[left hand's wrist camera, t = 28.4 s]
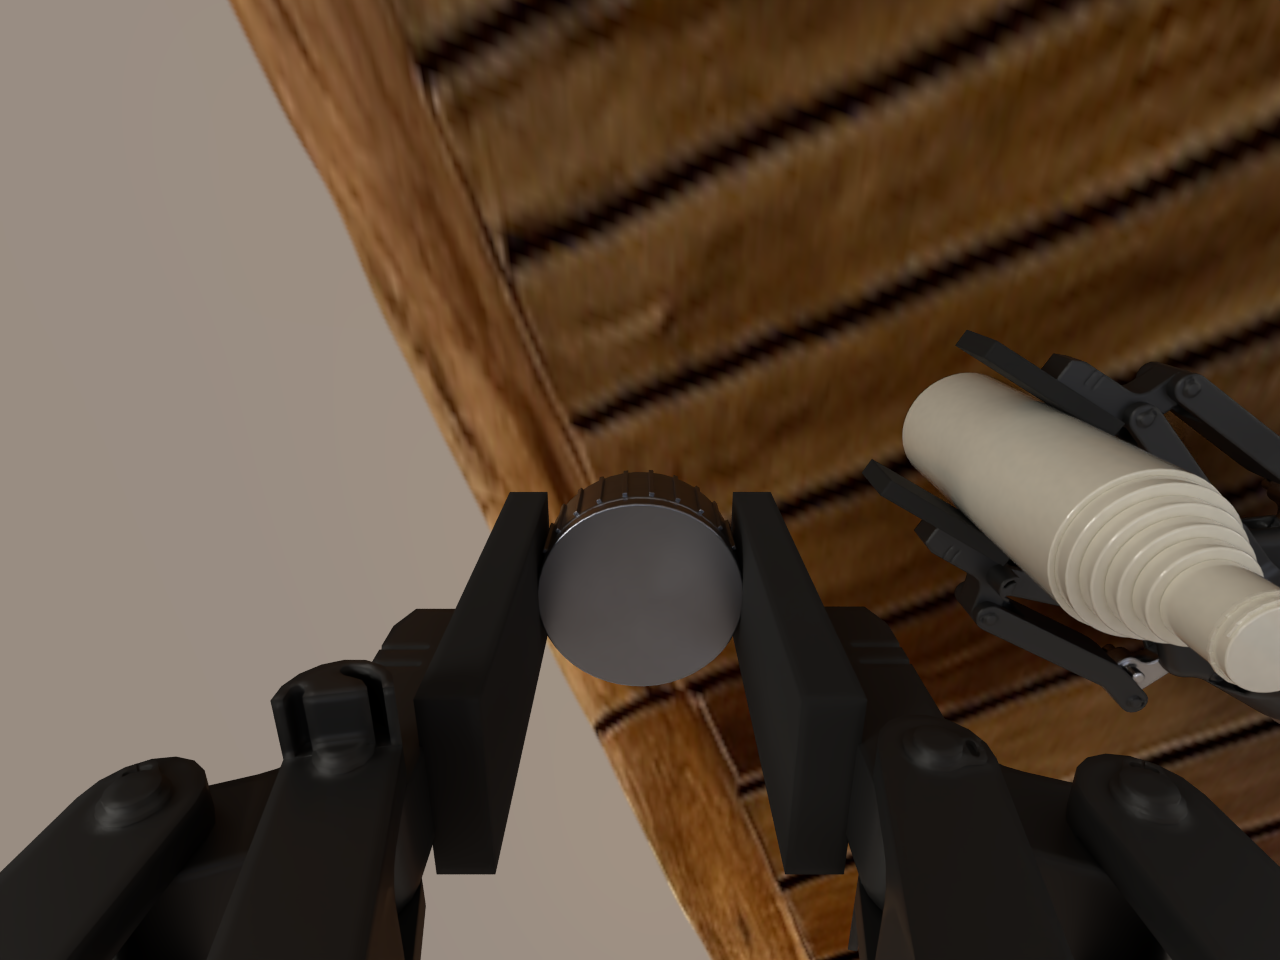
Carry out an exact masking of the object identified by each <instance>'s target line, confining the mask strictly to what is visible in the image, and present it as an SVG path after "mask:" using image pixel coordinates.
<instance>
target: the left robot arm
mask: <svg viewBox="0 0 1280 960" xmlns="http://www.w3.org/2000/svg"><path fill="white" fill-rule="evenodd" d="M548 531H549V515H548V494H547V492H510V493H509V495H508V497H507V500H506V502H505V504H504V506H503V508H502V510H501V512H500V515H499V517H498V519H497V521H496V523H495V525H494V527H493V530H492V532H491V534H490V536H489V538H488V540H487V543H486V545H485V547H484V549H483V551H482V553H481V555H480V557H479V560H478V562H477V564H476V566H475V568H474V570H473V572H472V575H471V577H470V579H469V581H468V583H467V585H466V587H465V590H464V592H463V594H462V596H461V598H460V600H459V602H458V605H457V607H456V609H416V610H414V611H413V612H412V613H410V614H409V615H408V616H406V617H405V618H404V619H402V620H401V621H400V622H398V623H397V624H396V625H394V626H393V628H392V629H391V631H390V633H389V635H388V636H387V638H386V640H385V641H384V643H383V645H382V649H381V650H379V651H378V653H377V655H376V656H375V658H374V660H373V661H372V662H370V661H367V660H342V661H337V662H332V663H328V664H322V665H320V666H317V667H315V668H312V669H310V670H307V671H305V672H303V673H300V674H298V675H297V676H296V677H294V678H293V679H291V680H290V681H288V682H287V683H286V684H284V685H283V686H281V688H280V689H279V690H278V692H277V693H276V694H275V695H274V697H273V698H272V699H271V705H272V710H273V714H274V719H275V723H276V728H277V732H278V737H279V742H280V746H281V751H282V755H283V762H282V765H281V767H280V768H278V769H275V770H271V771H268V772H264V773H261V774H258V775H253V776H249V777H245V778H240V779H236V780H231V781H227V782H223V783H218V784H214V785H208V781H207V778H206V774H205V770H204V769H203V768H201V766H199V765H198V764H197V763H196V762H195V761H194V760H189V759H185V758H180V757H167V758H157V759H150V760H147V761H144V762H141V763H137V764H134V765H131V766H128V767H125V768H123V769H121V770H119V771H117V772H115V773H113V774H111V775H109V776H107V777H105V778H104V779H101V780H100V781H98V782H97V783H95V784H94V785H93V786H92V787H90V788H89V789H88V790H86V791H85V792H84V793H83V794H81V795H80V796H79V797H77V798H76V799H75V800H74V801H73V802H72V803H71V804H70V805H69V806H68V807H67V808H66V809H65V810H64V811H63V812H62V813H61V814H60V815H59V816H58V817H57V818H56V819H55V820H54V821H53V822H52V823H51V824H50V825H49V826H47V827H46V828H45V829H44V830H43V831H42V832H41V833H40V834H39V835H38V836H37V837H36V838H35V839H34V840H33V841H32V842H31V843H30V844H29V845H28V846H27V847H26V848H25V849H24V850H23V851H22V852H21V853H20V854H19V855H18V856H17V857H16V858H15V859H14V860H12V861H11V862H10V863H9V864H8V865H7V866H6V867H5V868H4V869H3V870H2V871H1V872H0V960H420V959H421V949H422V938H423V928H424V918H425V908H426V905H425V897H424V890H423V883H422V875H423V872H424V869H425V866H426V863H427V860H428V857H429V854H430V851H431V848H432V845H433V850H434V858H435V865H436V873H437V874H495V873H496V869H497V864H498V860H499V855H500V850H501V846H502V841H503V837H504V832H505V828H506V823H507V818H508V814H509V809H510V805H511V800H512V796H513V791H514V786H515V782H516V777H517V773H518V768H519V764H520V759H521V754H522V750H523V745H524V741H525V736H526V732H527V727H528V722H529V718H530V713H531V709H532V704H533V700H534V695H535V690H536V686H537V681H538V677H539V672H540V668H541V663H542V658H543V654H544V649H545V645H546V640H547V636H548V635H547V633H546V631H545V629H544V627H543V625H542V622H541V619H540V615H539V599H538V577H539V573H540V570H541V566H542V562H543V559H544V555H545V553H543V549H544V545H545V542H546V538H547V535H548ZM731 531H732V534H733V538H734V541H735V544H736V548H737V549H736V550H735V552H736V555H737V559H738V563H739V566H740V570H741V574H742V579H743V589H742V607H741V619H740V621H739V624H738V626H737V629H736V631H735V633H734V634H733V638H734V643H735V647H736V652H737V656H738V661H739V666H740V670H741V675H742V679H743V684H744V688H745V693H746V698H747V702H748V707H749V711H750V716H751V720H752V725H753V730H754V734H755V739H756V743H757V748H758V752H759V757H760V762H761V766H762V771H763V775H764V780H765V784H766V789H767V794H768V798H769V803H770V807H771V812H772V816H773V821H774V826H775V830H776V835H777V839H778V844H779V848H780V853H781V858H782V862H783V867H784V871H785V874H844V869H845V861H846V854H847V846H848V843H849V846H850V849H851V852H852V855H853V858H854V861H855V864H856V867H857V870H858V873H859V876H858V883H857V890H856V897H855V904H854V911H853V917H852V924H851V931H850V938H849V946H848V950H853V951H857V949H858V947H859V957H860V960H1280V867H1279V866H1278V865H1277V864H1276V863H1275V862H1274V861H1273V860H1272V859H1271V858H1270V857H1269V856H1268V855H1267V854H1266V853H1265V852H1264V851H1263V850H1262V849H1261V848H1259V847H1258V846H1257V845H1256V844H1255V843H1254V842H1253V841H1252V840H1251V839H1250V838H1249V837H1248V836H1247V835H1246V834H1245V833H1244V832H1243V831H1242V830H1241V829H1240V828H1239V827H1238V826H1237V825H1236V824H1235V823H1234V822H1233V821H1232V820H1230V819H1229V818H1228V817H1227V816H1226V815H1225V814H1224V813H1223V812H1222V811H1221V810H1220V809H1219V808H1218V807H1217V806H1216V805H1215V804H1214V803H1213V802H1212V801H1211V800H1210V799H1209V798H1208V797H1207V796H1206V795H1204V794H1203V793H1202V792H1201V791H1199V790H1198V789H1197V788H1195V787H1194V786H1193V785H1191V784H1190V783H1189V782H1188V781H1186V780H1185V779H1184V778H1182V777H1180V776H1178V775H1176V774H1174V773H1172V772H1170V771H1168V770H1166V769H1165V768H1163V767H1161V766H1159V765H1157V764H1154V763H1150V762H1147V761H1144V760H1141V759H1137V758H1134V757H1131V756H1124V755H1114V754H1102V755H1097V756H1092V757H1087V758H1086V759H1085V760H1084V761H1083V762H1082V763H1081V764H1080V765H1079V766H1078V767H1077V769H1076V772H1075V776H1074V780H1073V783H1071V782H1067V781H1062V780H1058V779H1053V778H1049V777H1045V776H1040V775H1036V774H1031V773H1027V772H1023V771H1019V770H1016V769H1013V768H1009V767H1006V766H1003V765H1001V764H999V763H998V761H997V759H996V757H995V756H994V754H993V753H992V751H991V750H990V748H989V747H988V745H987V744H986V743H985V742H984V741H983V740H981V739H980V738H979V737H978V736H976V735H975V734H974V733H973V732H971V731H970V730H969V729H966V728H964V727H962V726H960V725H958V724H956V723H954V722H952V721H949V720H946V719H944V717H943V716H942V714H941V712H940V711H939V709H938V707H937V706H936V704H935V702H934V701H933V699H932V697H931V696H930V694H929V692H928V691H927V689H926V687H925V686H924V684H923V682H922V681H921V679H920V677H919V676H918V674H917V672H916V671H915V669H914V667H913V666H912V664H909V659H908V657H907V656H906V654H905V652H904V651H903V649H902V647H899V642H898V641H897V639H896V637H895V636H894V634H893V632H892V631H891V629H890V627H889V626H888V624H887V623H886V622H884V621H883V620H882V619H880V618H879V617H878V616H876V615H875V614H874V613H872V612H871V611H870V610H868V609H867V608H865V607H824V606H823V603H822V601H821V599H820V597H819V595H818V593H817V591H816V588H815V586H814V584H813V582H812V580H811V578H810V576H809V574H808V571H807V569H806V567H805V565H804V563H803V561H802V559H801V556H800V554H799V552H798V550H797V548H796V546H795V544H794V541H793V539H792V537H791V535H790V533H789V531H788V529H787V526H786V524H785V522H784V520H783V518H782V516H781V514H780V511H779V509H778V507H777V505H776V503H775V501H774V499H773V496H772V494H771V492H733V503H732V524H731Z"/></svg>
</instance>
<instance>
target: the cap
mask: <svg viewBox="0 0 1280 960" xmlns="http://www.w3.org/2000/svg"><path fill="white" fill-rule="evenodd" d="M736 549H737V548H736V544H735V541H734V538H733V534H732V531H731V527H730V524H729V521H728V520H726V521H725V520H724V518H723V517H722V515H721V513H720V512H719V510H718V506H717V503H716V502H715V501H713V502H711V501H710V500H709V499H708V498H707V497H706V496H705V495H704V494H702V493H701V492H700V489H699V487H697V486H695V487H692V486H691V485H689V484H687V483H685V482H683V481H681V480H678V477H677V476H675V475H673V477H670V476H666V475H662V474H656V473H653V470H649V472H633V473H628V471H624V474H619V475H615V476H611V477H608V478H605V479H604V477H600V479H599V481H598V482H596V483H594V484H592V485H590V486H588V487H587V488H585V489H584V490H583V489H582V488H580V489H579V490H578V494H577V495H576V496H575V497H574V498H573V499H572V500H570V501H569V503H568V504H567V505H565V504H563V505H562V507H561V511H560V514H559V516H558V518H557V519H556V521H555V523H554V524H553V523H551V525H550V528H549V531H548V535H547V538H546V542H545V545H544V549H543V553H545V555H544V559H543V562H542V566H541V570H540V573H539V577H538V599H539V615H540V619H541V622H542V625H543V627H544V629H545V631H546V633H547V635H548V637H549V639H550V640H551V641H552V643H553V644H554V646H555V647H556V648H557V649H558V651H559V652H560V653H561V654H562V655H563V656H564V657H565V658H566V659H567V660H569V661H570V662H571V663H572V664H573V665H575V666H576V667H578V668H579V669H581V670H582V671H584V672H586V673H588V674H590V675H592V676H594V677H597V678H599V679H602V680H605V681H608V682H612V683H616V684H622V685H630V686H650V685H659V684H664V683H669V682H672V681H676V680H679V679H682V678H684V677H686V676H688V675H691V674H693V673H695V672H696V671H698V670H700V669H701V668H703V667H705V666H706V665H707V664H708V663H710V662H711V661H712V660H713V659H715V658H716V657H717V656H718V654H719V653H720V652H721V651H722V650H723V649H724V648H725V647H726V645H727V644H728V643H729V641H730V640H731V638H732V636H733V634H734V633H735V631H736V629H737V626H738V624H739V621H740V619H741V607H742V589H743V579H742V574H741V570H740V566H739V563H738V559H737V555H736V552H735V550H736Z"/></svg>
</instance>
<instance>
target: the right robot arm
mask: <svg viewBox="0 0 1280 960" xmlns="http://www.w3.org/2000/svg"><path fill="white" fill-rule="evenodd" d="M955 346H957V347H959V348H960V349H962V350H963V351H965V352H966V353H968V354H970V355H971V356H973V357H974V358H976V359H977V360H979V361H981V362H982V363H984V364H985V365H987V366H988V367H990V368H992V369H993V370H995V371H996V372H998V373H999V374H1001V375H1003V376H1004V377H1006V378H1007V379H1009V380H1010V381H1012V382H1014V383H1015V384H1017V385H1018V386H1020V387H1021V388H1023V389H1025V390H1026V391H1028V392H1029V393H1031V394H1033V395H1034V396H1036V397H1037V398H1039V399H1040V400H1042V401H1044V402H1045V403H1047V404H1049V405H1051V406H1053V407H1055V408H1057V409H1059V410H1061V411H1063V412H1065V413H1067V414H1069V415H1072V416H1074V417H1076V418H1078V419H1080V420H1082V421H1084V422H1086V423H1088V424H1090V425H1092V426H1095V427H1097V428H1099V429H1101V430H1103V431H1105V432H1107V433H1109V434H1111V435H1113V436H1115V437H1117V438H1120V439H1122V440H1124V441H1126V442H1128V443H1130V444H1132V445H1134V446H1136V447H1138V448H1140V449H1143V450H1145V451H1147V452H1149V453H1151V454H1153V455H1155V456H1157V457H1159V458H1161V459H1163V460H1166V461H1168V462H1170V463H1172V464H1174V465H1176V466H1178V467H1180V468H1182V469H1184V470H1186V471H1188V472H1191V473H1193V474H1195V475H1197V476H1199V477H1201V478H1203V479H1205V480H1206V481H1207V482H1209V483H1210V481H1209V480H1208V479H1207V477H1206V476H1205V474H1204V473H1203V471H1202V470H1201V469H1200V467H1199V466H1198V464H1197V463H1196V461H1195V460H1194V458H1193V457H1192V456H1191V454H1190V453H1189V451H1188V450H1187V448H1186V447H1185V446H1184V444H1183V443H1182V441H1181V440H1180V438H1179V437H1178V436H1177V434H1176V433H1175V431H1174V430H1173V428H1172V427H1171V425H1170V424H1169V423H1168V421H1167V420H1166V418H1165V417H1164V415H1163V414H1164V413H1166V412H1167V411H1169V410H1170V411H1171V412H1172V413H1174V414H1175V415H1176V416H1177V417H1179V418H1180V419H1181V420H1183V421H1184V422H1185V423H1187V424H1188V425H1189V426H1190V427H1192V428H1193V429H1194V430H1196V431H1197V432H1198V433H1200V434H1201V435H1202V436H1203V437H1205V438H1206V439H1207V440H1209V441H1210V442H1211V443H1213V444H1214V445H1215V446H1216V447H1218V448H1219V449H1220V450H1222V451H1223V452H1224V453H1226V454H1227V455H1228V456H1229V457H1231V458H1232V459H1233V460H1235V461H1236V462H1237V463H1239V464H1240V465H1241V466H1243V467H1244V468H1246V469H1247V470H1249V471H1251V472H1253V473H1255V474H1257V475H1260V476H1262V477H1264V479H1263V480H1262V483H1261V486H1262V487H1263V488H1264V489H1266V490H1267V495H1268V497H1269V498H1270V499H1271V500H1273V501H1275V502H1276V503H1277V505H1278V513H1277V515H1269V516H1258V517H1247V518H1240V519H1241V522H1242V524H1243V529H1244V530H1245V532H1246V534H1247V537H1248V539H1249V543H1250V545H1251V547H1252V548H1253V550H1254V553H1255V555H1256V559H1257V563H1258V564H1259V566H1260V567H1261V569H1262V572H1263V575H1264V578H1266V579H1267V580H1269V581H1271V582H1272V583H1274V584H1276V585H1278V586H1279V587H1280V437H1279V436H1278V435H1277V434H1275V433H1274V432H1273V431H1272V430H1270V429H1269V428H1268V427H1267V426H1265V425H1264V424H1263V423H1262V422H1260V421H1259V420H1258V419H1257V418H1255V417H1254V416H1253V415H1251V414H1250V413H1249V412H1248V411H1246V410H1245V409H1244V408H1243V407H1241V406H1240V405H1239V404H1238V403H1236V402H1235V401H1234V400H1233V399H1231V398H1230V397H1229V396H1228V395H1226V394H1225V393H1224V392H1222V391H1221V390H1220V389H1219V388H1217V387H1216V386H1215V385H1214V384H1212V383H1211V382H1210V381H1209V380H1207V379H1206V378H1205V377H1204V376H1202V375H1199V374H1196V373H1193V372H1190V371H1186V370H1183V369H1179V368H1176V367H1173V366H1169V365H1166V364H1162V363H1159V362H1149V363H1147V364H1145V365H1143V366H1142V367H1141V368H1140V369H1139V371H1138V372H1137V375H1136V378H1135V379H1134V380H1132V381H1131V382H1129V383H1127V384H1125V385H1120V384H1118V383H1117V382H1115V381H1114V380H1112V379H1111V378H1109V377H1108V376H1106V375H1104V374H1103V373H1102V372H1100V371H1098V370H1097V369H1095V368H1094V367H1092V366H1091V365H1089V364H1088V363H1086V362H1084V361H1081V360H1078V359H1075V358H1072V357H1069V356H1066V355H1060V354H1053V355H1052V356H1051V357H1050V359H1049V360H1048V361H1047V362H1046V364H1045V365H1044V366H1043V367H1042V369H1040V368H1038V367H1037V366H1035V365H1034V364H1032V363H1030V362H1029V361H1027V360H1026V359H1024V358H1023V357H1021V356H1020V355H1018V354H1017V353H1015V352H1013V351H1012V350H1010V349H1009V348H1007V347H1006V346H1004V345H1003V344H1001V343H1000V342H998V341H996V340H993V339H991V338H988V337H985V336H982V335H980V334H977V333H974V332H972V331H969V330H966V332H965V333H964V334H963V336H962V337H961V338H960V340H959V341H958V342H957V344H956V345H955ZM862 473H863V475H864V476H865V477H866V478H867V480H868V481H869V482H870V483H871V484H872V486H873V487H874V488H875V489H876V490H877V492H878V493H879V494H880V495H881V496H883V497H884V498H886V499H888V500H890V501H891V502H893V503H895V504H897V505H898V506H900V507H902V508H903V509H905V510H907V511H909V512H910V513H912V514H914V515H916V516H917V517H919V518H921V519H922V520H921V522H920V523H919V524H918V526H917V527H916V528H915V529H914V531H915V532H916V534H917V535H918V536H919V538H920V539H921V540H922V541H923V543H924V544H925V545H926V546H927V547H928V549H929V550H930V551H931V552H932V553H934V554H935V555H937V556H939V557H941V558H943V559H944V560H946V561H948V562H950V563H951V564H953V565H955V566H957V567H958V568H960V569H962V570H964V571H965V572H967V576H966V579H965V581H964V582H962V583H960V584H959V585H958V586H957V587H956V589H955V597H956V599H957V600H958V601H959V603H960V604H961V605H962V606H963V608H964V609H965V610H966V611H967V613H968V614H969V615H970V616H971V618H972V619H973V620H974V621H975V623H976V624H977V625H978V626H979V627H980V628H981V629H983V630H985V631H987V632H989V633H991V634H993V635H995V636H998V637H1000V638H1002V639H1004V640H1006V641H1008V642H1010V643H1012V644H1014V645H1016V646H1019V647H1021V648H1023V649H1025V650H1027V651H1029V652H1031V653H1033V654H1035V655H1038V656H1040V657H1042V658H1044V659H1046V660H1048V661H1050V662H1052V663H1054V664H1056V665H1059V666H1061V667H1063V668H1065V669H1067V670H1069V671H1071V672H1073V673H1075V674H1077V675H1080V676H1082V677H1084V678H1086V679H1088V680H1090V681H1092V682H1094V683H1096V684H1099V685H1100V686H1101V687H1102V688H1103V689H1104V690H1105V691H1106V692H1107V693H1108V694H1109V695H1110V696H1111V697H1112V698H1113V699H1114V700H1115V701H1116V702H1117V703H1118V704H1119V705H1120V706H1121V708H1122V709H1124V710H1125V711H1127V712H1137V711H1139V710H1141V709H1142V708H1144V707H1145V705H1146V704H1147V701H1148V697H1147V695H1146V694H1145V692H1144V691H1143V690H1142V689H1143V688H1145V687H1146V686H1148V685H1150V684H1151V683H1153V682H1154V681H1156V680H1158V679H1159V678H1161V677H1162V676H1164V675H1165V674H1167V673H1170V674H1173V675H1175V676H1179V677H1196V678H1200V679H1203V680H1205V681H1207V682H1209V683H1210V684H1212V685H1214V686H1216V687H1217V688H1219V689H1221V690H1222V691H1224V692H1226V693H1228V694H1229V695H1231V696H1233V697H1235V698H1236V699H1238V700H1240V701H1242V702H1243V703H1245V704H1247V705H1249V706H1250V707H1252V708H1254V709H1255V710H1257V711H1259V712H1261V713H1263V714H1264V715H1267V716H1269V717H1270V718H1272V719H1273V720H1274V721H1276V722H1278V723H1279V724H1280V691H1276V692H1269V693H1259V692H1252V691H1249V690H1245V689H1243V688H1241V687H1239V686H1237V685H1235V684H1232V683H1229V682H1227V681H1226V680H1224V679H1223V678H1222V677H1221V676H1219V675H1218V674H1217V673H1216V672H1214V670H1213V668H1212V667H1211V665H1210V664H1209V663H1208V662H1207V661H1206V660H1204V659H1203V658H1202V657H1201V656H1199V655H1198V654H1197V653H1196V652H1194V651H1193V650H1192V649H1191V648H1189V647H1182V646H1176V645H1173V644H1166V643H1157V642H1152V641H1149V640H1143V644H1144V648H1145V649H1144V650H1142V651H1138V652H1132V651H1129V650H1127V649H1126V648H1123V647H1116V648H1115V647H1114V646H1113V645H1111V644H1107V645H1104V646H1103V647H1102V648H1101V647H1100V646H1099V645H1098V644H1097V643H1095V642H1094V641H1093V640H1091V639H1090V638H1089V637H1087V636H1085V635H1083V634H1081V633H1079V632H1077V631H1075V630H1073V629H1071V628H1069V627H1067V626H1065V625H1063V624H1061V623H1059V622H1057V621H1055V620H1053V619H1051V618H1048V617H1046V616H1044V615H1042V614H1040V613H1038V612H1036V611H1034V610H1032V609H1030V608H1028V607H1026V606H1024V605H1022V604H1020V603H1018V602H1016V601H1014V600H1011V599H1009V598H1007V597H1006V596H1015V597H1020V598H1025V599H1029V600H1034V601H1039V602H1043V603H1048V604H1053V605H1057V606H1059V605H1058V604H1057V603H1056V602H1055V601H1054V600H1053V599H1052V598H1051V597H1050V596H1049V595H1048V594H1047V593H1045V592H1044V591H1043V590H1042V589H1041V588H1040V587H1039V586H1038V585H1037V584H1036V583H1035V582H1034V581H1033V580H1032V579H1031V578H1030V577H1029V576H1028V575H1027V574H1026V573H1024V572H1023V571H1022V570H1021V569H1020V568H1019V567H1018V566H1017V565H1016V564H1015V563H1014V562H1013V561H1012V560H1011V559H1010V558H1009V557H1008V556H1007V555H1006V554H1005V553H1003V552H1002V551H1001V550H1000V549H999V548H998V547H997V546H996V545H995V544H994V543H993V542H992V541H991V540H990V539H989V538H988V537H987V536H986V535H985V534H984V533H982V532H981V531H980V530H979V529H978V528H977V527H976V526H975V525H974V524H973V523H972V522H971V521H970V520H969V519H968V518H967V517H966V516H965V515H964V514H963V513H961V512H960V511H959V510H958V509H956V508H955V507H953V506H951V505H950V504H948V503H946V502H944V501H943V500H941V499H939V498H938V497H936V496H934V495H933V494H931V493H929V492H927V491H926V490H924V489H922V488H921V487H919V486H917V485H915V484H914V483H912V482H910V481H909V480H907V479H905V478H904V477H902V476H900V475H898V474H897V473H895V472H893V471H892V470H890V469H888V468H886V467H885V466H883V465H881V464H880V463H878V462H876V461H874V460H873V459H872V460H871V461H870V462H869V464H868V465H867V466H866V468H865V469H864V471H863V472H862ZM1210 484H1211V483H1210ZM1211 485H1212V484H1211Z"/></svg>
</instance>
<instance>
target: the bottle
mask: <svg viewBox="0 0 1280 960" xmlns="http://www.w3.org/2000/svg"><path fill="white" fill-rule="evenodd" d="M902 438H903V446H904V450H905V453H906V455H907V458H908V459H909V461H910V463H911V464H912V465H913V466H914V468H915V469H916V470H917V471H918V472H919V473H921V474H922V475H923V476H924V477H925V478H926V479H927V480H928V481H929V482H930V483H931V484H932V485H933V486H934V487H935V488H936V489H937V490H938V491H939V492H940V493H942V494H943V495H944V496H945V497H946V498H947V499H948V500H949V501H950V502H951V503H952V504H953V505H954V506H955V507H956V508H957V509H958V510H959V511H960V512H961V513H963V514H964V515H965V516H966V517H967V518H968V519H969V520H970V521H971V522H972V523H973V524H974V525H975V526H976V527H977V528H978V529H979V530H980V531H981V532H982V533H984V534H985V535H986V536H987V537H988V538H989V539H990V540H991V541H992V542H993V543H994V544H995V545H996V546H997V547H998V548H999V549H1000V550H1001V551H1002V552H1003V553H1005V554H1006V555H1007V556H1008V557H1009V558H1010V559H1011V560H1012V561H1013V562H1014V563H1015V564H1016V565H1017V566H1018V567H1019V568H1020V569H1021V570H1022V571H1023V572H1024V573H1026V574H1027V575H1028V576H1029V577H1030V578H1031V579H1032V580H1033V581H1034V582H1035V583H1036V584H1037V585H1038V586H1039V587H1040V588H1041V589H1042V590H1043V591H1044V592H1045V593H1047V594H1048V595H1049V596H1050V597H1051V598H1052V599H1053V600H1054V601H1055V602H1056V603H1057V604H1058V605H1059V606H1060V607H1061V608H1062V609H1063V610H1064V611H1066V612H1067V613H1068V614H1069V615H1070V616H1072V617H1073V618H1075V619H1076V620H1078V621H1080V622H1082V623H1084V624H1087V625H1090V626H1092V627H1093V628H1095V629H1097V630H1099V631H1101V632H1104V633H1107V634H1110V635H1114V636H1120V637H1130V638H1134V639H1140V640H1149V641H1152V642H1157V643H1166V644H1173V645H1176V646H1182V647H1189V648H1191V649H1192V650H1193V651H1194V652H1196V653H1197V654H1198V655H1199V656H1201V657H1202V658H1203V659H1204V660H1206V661H1207V662H1208V663H1209V664H1210V665H1211V667H1212V668H1213V670H1214V672H1216V673H1217V674H1218V675H1219V676H1221V677H1222V678H1223V679H1224V680H1226V681H1227V682H1229V683H1232V684H1235V685H1237V686H1239V687H1241V688H1243V689H1245V690H1249V691H1252V692H1259V693H1269V692H1276V691H1280V587H1279V586H1278V585H1276V584H1274V583H1272V582H1271V581H1269V580H1267V579H1266V578H1264V575H1263V572H1262V569H1261V567H1260V566H1259V564H1258V563H1257V559H1256V555H1255V553H1254V550H1253V548H1252V547H1251V545H1250V543H1249V539H1248V537H1247V534H1246V532H1245V530H1244V529H1243V524H1242V522H1241V519H1240V517H1239V515H1238V513H1237V512H1236V510H1235V509H1234V507H1233V506H1232V505H1231V504H1230V503H1229V502H1228V500H1227V499H1225V498H1224V497H1223V496H1222V495H1221V494H1220V492H1219V491H1218V490H1217V489H1216V488H1215V487H1214V486H1213V485H1211V484H1210V483H1209V482H1207V481H1206V480H1205V479H1203V478H1201V477H1199V476H1197V475H1195V474H1193V473H1191V472H1188V471H1186V470H1184V469H1182V468H1180V467H1178V466H1176V465H1174V464H1172V463H1170V462H1168V461H1166V460H1163V459H1161V458H1159V457H1157V456H1155V455H1153V454H1151V453H1149V452H1147V451H1145V450H1143V449H1140V448H1138V447H1136V446H1134V445H1132V444H1130V443H1128V442H1126V441H1124V440H1122V439H1120V438H1117V437H1115V436H1113V435H1111V434H1109V433H1107V432H1105V431H1103V430H1101V429H1099V428H1097V427H1095V426H1092V425H1090V424H1088V423H1086V422H1084V421H1082V420H1080V419H1078V418H1076V417H1074V416H1072V415H1069V414H1067V413H1065V412H1063V411H1061V410H1059V409H1057V408H1055V407H1053V406H1051V405H1049V404H1046V403H1044V402H1042V401H1040V400H1038V399H1036V398H1034V397H1032V396H1030V395H1028V394H1026V393H1023V392H1021V391H1019V390H1017V389H1015V388H1013V387H1011V386H1009V385H1007V384H1005V383H1003V382H1001V381H998V380H996V379H994V378H992V377H990V376H987V375H984V374H979V373H960V374H955V375H951V376H948V377H945V378H943V379H941V380H939V381H937V382H936V383H934V384H932V385H931V386H929V387H928V388H927V389H926V390H924V391H923V392H922V393H921V394H920V395H919V396H918V398H917V399H916V400H915V401H914V403H913V404H912V406H911V408H910V409H909V411H908V414H907V416H906V419H905V422H904V427H903V437H902Z"/></svg>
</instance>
